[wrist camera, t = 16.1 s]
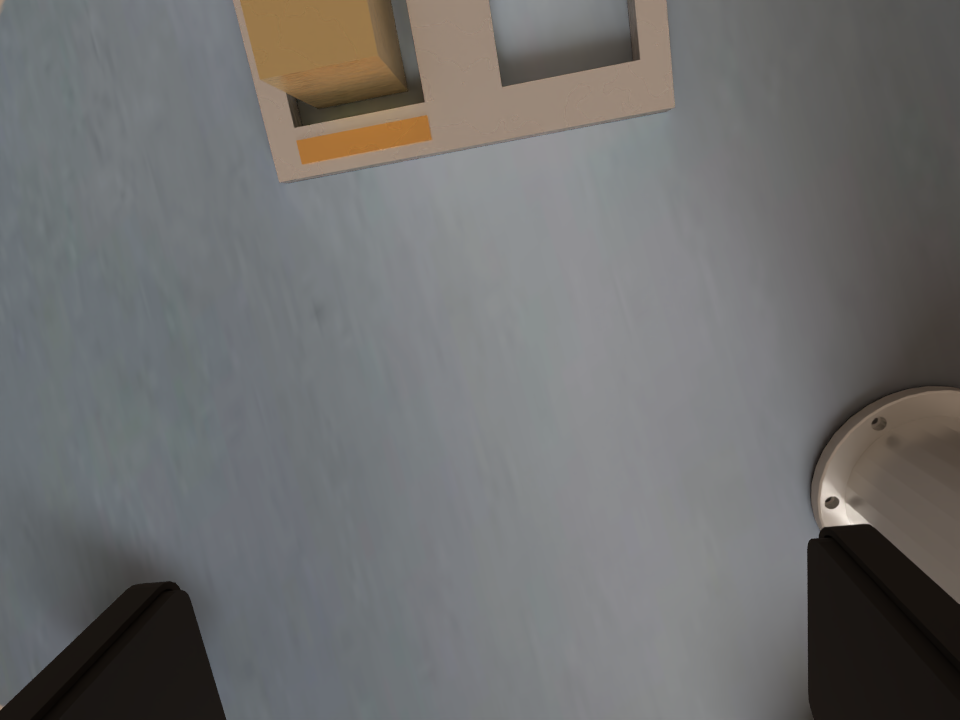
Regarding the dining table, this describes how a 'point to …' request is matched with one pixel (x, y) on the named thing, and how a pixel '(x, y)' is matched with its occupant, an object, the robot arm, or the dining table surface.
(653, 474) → the dining table surface
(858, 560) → the robot arm
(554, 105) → the white flat frame
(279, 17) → the brass block
